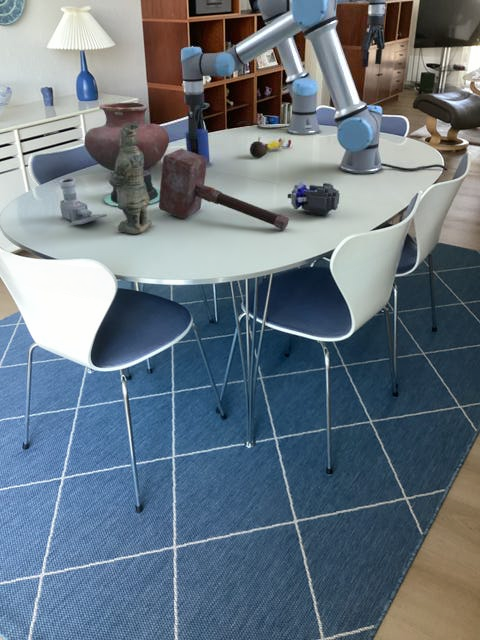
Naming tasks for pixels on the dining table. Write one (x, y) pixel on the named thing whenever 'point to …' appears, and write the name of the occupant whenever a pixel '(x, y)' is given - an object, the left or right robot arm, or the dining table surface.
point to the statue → (131, 182)
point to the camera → (74, 204)
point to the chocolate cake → (152, 192)
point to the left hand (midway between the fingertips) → (371, 65)
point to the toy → (315, 198)
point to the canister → (200, 143)
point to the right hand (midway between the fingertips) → (198, 153)
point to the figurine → (266, 147)
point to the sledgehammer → (200, 190)
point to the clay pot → (105, 138)
